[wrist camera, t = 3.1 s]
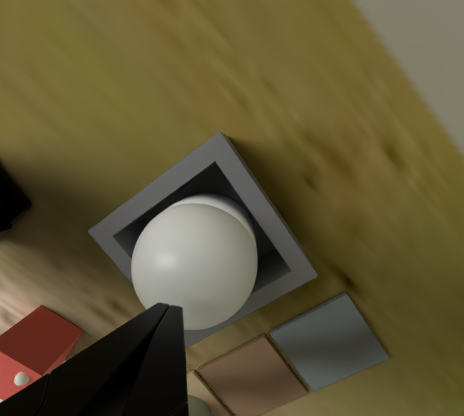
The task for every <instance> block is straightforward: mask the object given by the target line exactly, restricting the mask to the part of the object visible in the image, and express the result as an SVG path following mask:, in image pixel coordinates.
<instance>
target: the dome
mask: <svg viewBox="0 0 464 416" xmlns="http://www.w3.org/2000/svg"><path fill="white" fill-rule="evenodd" d="M131 275H132V281H133V285H134V288H135V292H136V294H137V296H138V298H139V300H140V302H141V303H142V304H143V306H144V307H145V308H146V310H147V309H148V308H150V307H151V306H153V305H155V304H156V303H158V302H161V303H166V304H169V305H170V306H171V305H176V306H181V307H182V308H183V320H184V330H201V329H207V328H210V327H213V326H216V325H218V324H220V323H222V322H224V321H226V320H227V319H229V318H230V317H231V316H233V315H234V314H235V313H236V312H237V311H238V310H239V309H240V308H241V307H242V306H243V304H244V303H245V301H246V300H247V298H248V297H249V295H250V293H251V291H252V289H253V286H254V283H255V280H256V275H257V246H256V234H255V229H254V225H253V223H252V221H251V219H250V217H249V215H248V214H247V212H246V211H245V210H244V209H243V208H242V207H241V206H240V205H239V204H238V203H237V202H235V201H234V200H232V199H230V198H229V197H226V196H224V195H221V194H217V193H212V192H199V193H194V194H190V195H188V196H185V197H183V198H182V199H180V200H178V201H177V202H175V203H174V204H173V205H171V206H170V207H168V208H167V209H165V210H164V211H162V212H161V213H160V214H158V215H157V216H156V217H155V218H154V219H152V220H151V221H150V222H149V224H148V225H147V226H146V227H145V228H144V230H143V231H142V233H141V235H140V236H139V238H138V240H137V242H136V245H135V248H134V251H133V255H132V262H131Z"/></svg>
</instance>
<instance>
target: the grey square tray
mask: <svg viewBox="0 0 464 416" xmlns="http://www.w3.org/2000/svg"><path fill="white" fill-rule="evenodd" d="M199 192H212V193H217V194H221V195H224V196H226V197H229V198H230V199H232V200H234V201H235V202H237V203H238V204H239V205H240V206H241V207H242V208H243V209H244V210H245V211H246V212H247V214H248V215H249V217H250V219H251V221H252V223H253V225H254V229H255V234H256V246H257V275H256V280H255V283H254V286H253V289H252V291H251V293H250V295H249V297H248V298H247V300H246V301H245V303H244V304H243V306H242V307H241V308H240V309H239V310H238V311H237V312H236V313H235V314H234V315H233V316H231V317H230V318H229V319H227V320H226V321H224V322H222V323H220V324H218V325H216V326H213V327H210V328H207V329H201V330H184V338H185V347H186V348H188V347H189V346H191V345H193V344H195V343H197V342H199V341H200V340H202V339H204V338H206V337H208V336H209V335H211V334H213V333H215V332H217V331H219V330H220V329H222V328H224V327H226V326H228V325H230V324H231V323H233V322H235V321H237V320H239V319H241V318H242V317H244V316H246V315H248V314H250V313H252V312H253V311H255V310H257V309H259V308H261V307H263V306H264V305H266V304H268V303H270V302H272V301H274V300H275V299H277V298H279V297H281V296H283V295H285V294H286V293H288V292H290V291H292V290H294V289H295V288H297V287H299V286H301V285H303V284H305V283H306V282H308V281H310V280H312V279H314V278H316V277H317V276H318V275H317V273H316V271H315V269H314V267H313V265H312V264H311V262H310V260H309V258H308V256H307V255H306V253H305V251H304V249H303V247H302V246H301V244H300V243H299V241H298V240H297V238H296V237H295V235H294V234H293V232H292V231H291V229H290V228H289V226H288V225H287V223H286V222H285V220H284V219H283V218H282V216H281V215H280V213H279V212H278V210H277V209H276V207H275V206H274V204H273V203H272V201H271V200H270V198H269V197H268V195H267V194H266V192H265V191H264V189H263V188H262V187H261V185H260V184H259V182H258V181H257V179H256V178H255V176H254V175H253V173H252V172H251V170H250V169H249V167H248V166H247V164H246V163H245V161H244V160H243V158H242V157H241V155H240V154H239V153H238V151H237V150H236V148H235V147H234V145H233V144H232V142H231V141H230V139H229V138H228V136H226V135H225V134H223V133H222V132H220V131H219V132H218V133H216V134H215V135H214V136H212V137H211V138H210V139H208V140H207V141H206V142H204V143H203V144H202V145H200V146H199V147H198V148H197V149H195V150H194V151H193V152H191V153H190V154H189V155H187V156H186V157H185V158H183V159H182V160H181V161H179V162H178V163H177V164H175V165H174V166H173V167H171V168H170V169H169V170H168V171H166V172H165V173H164V174H162V175H161V176H160V177H158V178H157V179H156V180H154V181H153V182H152V183H150V184H149V185H148V186H146V187H145V188H144V189H142V190H141V191H140V192H138V193H137V194H136V195H135V196H133V197H132V198H131V199H129V200H128V201H127V202H125V203H124V204H123V205H121V206H120V207H119V208H117V209H116V210H115V211H113V212H112V213H111V214H109V215H108V216H107V217H105V218H104V219H103V220H102V221H100V222H99V223H98V224H96V225H95V226H94V227H92V228H91V229H90V230H88V233H89V234H90V235H91V236H92V237H93V239H94V240H95V241H96V242H97V243H98V244H99V246H100V247H101V248H102V249H103V250H104V251H105V253H106V254H107V255H108V256H109V257H110V258H111V260H112V261H113V262H114V263H115V264H116V266H117V267H118V268H119V269H120V270H121V271H122V273H123V274H124V275H125V276H126V277H127V278H128V280H129V281H130V282H131V283H132V284H133V281H132V275H131V262H132V255H133V251H134V248H135V245H136V242H137V240H138V238H139V236H140V235H141V233H142V231H143V230H144V228H145V227H146V226H147V225H148V224H149V222H150V221H151V220H152V219H154V218H155V217H156V216H157V215H158V214H160V213H161V212H162V211H164V210H165V209H167V208H168V207H170V206H171V205H173V204H174V203H175V202H177V201H178V200H180V199H182V198H183V197H185V196H188V195H190V194H194V193H199ZM133 286H134V285H133Z"/></svg>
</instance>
